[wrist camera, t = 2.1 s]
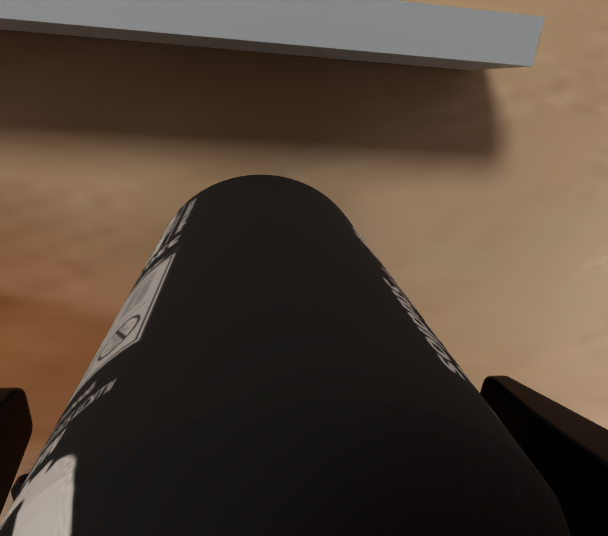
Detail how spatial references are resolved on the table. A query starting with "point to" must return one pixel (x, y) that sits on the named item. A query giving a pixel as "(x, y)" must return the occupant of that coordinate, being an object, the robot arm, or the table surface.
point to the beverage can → (276, 396)
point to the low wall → (298, 28)
